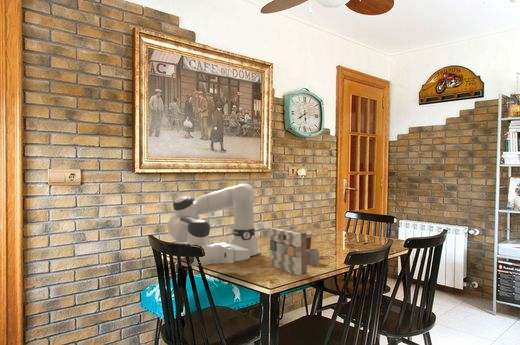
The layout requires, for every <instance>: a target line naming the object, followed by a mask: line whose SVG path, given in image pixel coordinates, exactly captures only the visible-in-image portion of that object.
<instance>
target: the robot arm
mask: <svg viewBox="0 0 520 345" xmlns="http://www.w3.org/2000/svg"><path fill="white" fill-rule="evenodd" d="M255 193H256V192H255V189H254V187H253V186H252V185H251V184H249V183H240V184H237V185H234V186H233V185H232V186H230V187H227V188H226V187H225V188H223V189H219V190H215V191H212V192H211V191H210V192H209V193H205V194H202V195H200V196H198V197H196V198H194V197H191V196H187V195H183V196H179V197H178V198H176V199H174V201H173V203H172V206H173V210H174V212H175V216H172V217H171V218H169V220H168V222H167V223H166V224H167V230H168V231H167V232H168V233H169V235H170V236H171V237H172V239H173V240H174V241H176V242H177V243H178V242H179V243H186V245H187V244H190V245H198V246H201V247H202V248H203V249H204V252H205V256H203V257H199V260H200V262H199V263H201V266H208V265H211V264H226V263H227V264H233V263H234V262H240V261H244V260H249V259H250V258H251V256H256V255H258V254H261V253H262V250H259V242H258V241H259V240H258V237H256V230H255V229H256V228H255V213H254V212H255V211H254V201H253V200H254V198H255V195H256V194H255ZM230 208H233V230H232V235H233V236H232V238H231V240H230V241H228V243H227V242H225V241H223V242H215V243H212V244H209V243H210V242H209V239H210V231H211V225H210V224H209V222H208V221H207V220H205V219H201V218H200V216H201V215H202V216H203V215H208V214H212V213H217V212H220V211H224V210H227V209H230ZM189 259H190V262H189V265H188V266H197V267H199V264H198V261H197V259H196V258H195V257H190V258H189ZM184 261H185V262H186V264H187V260H186V257H184Z"/></svg>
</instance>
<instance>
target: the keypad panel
mask: <svg viewBox="0 0 520 345" xmlns="http://www.w3.org/2000/svg"><path fill="white" fill-rule="evenodd" d="M305 232H306V231H300V230H295V229H289V228H283V227H269V242H270V241H276V244H278V243H283V244H285V252H286V253H284V254H280V253H277V251H274V250H270V249H269V264H270V265H269V266H271V267H274V268H277V269H279V270H282V271H285V272H288V273H289V274H292V275H295V276H299V275H306V274H308V272H307V271H308V267H307V266H308V264H307V241H306V233H305ZM291 245H292V246H295V256H290V255H288V246H291Z"/></svg>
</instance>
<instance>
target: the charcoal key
mask: <svg viewBox="0 0 520 345" xmlns="http://www.w3.org/2000/svg"><path fill="white" fill-rule="evenodd" d="M270 250H274V251H277V246H276V241H270V240H269V251H270Z"/></svg>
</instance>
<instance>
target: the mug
mask: <svg viewBox="0 0 520 345" xmlns="http://www.w3.org/2000/svg"><path fill="white" fill-rule="evenodd" d="M318 265H320V249H317V248H310V249H307V266H318Z"/></svg>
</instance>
